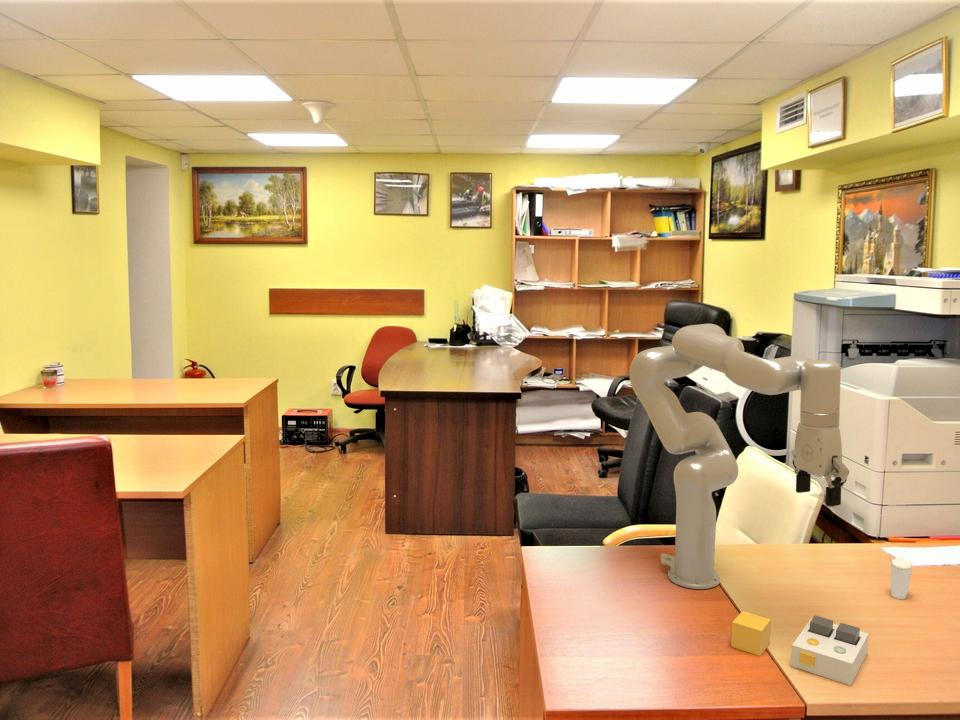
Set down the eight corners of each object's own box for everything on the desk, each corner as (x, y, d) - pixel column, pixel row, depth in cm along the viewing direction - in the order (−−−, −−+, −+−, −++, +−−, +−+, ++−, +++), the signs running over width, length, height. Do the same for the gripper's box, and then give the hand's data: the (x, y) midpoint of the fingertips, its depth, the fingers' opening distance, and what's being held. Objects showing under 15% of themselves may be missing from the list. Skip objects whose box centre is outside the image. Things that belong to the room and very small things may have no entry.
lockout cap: (731, 646, 159) (732, 622, 158) (741, 634, 163) (742, 610, 163) (760, 656, 155) (761, 630, 154) (769, 643, 160) (771, 619, 159)
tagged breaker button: (808, 640, 156) (809, 622, 156) (813, 633, 159) (814, 615, 158) (827, 645, 154) (828, 627, 153) (832, 638, 157) (833, 620, 156)
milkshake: (880, 592, 182) (883, 553, 181) (901, 591, 183) (905, 552, 181) (892, 601, 178) (895, 560, 176) (914, 600, 178) (917, 560, 177)
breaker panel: (790, 666, 151) (791, 644, 150) (810, 637, 162) (811, 616, 162) (850, 686, 144) (852, 662, 144) (867, 654, 156) (868, 632, 155)
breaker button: (834, 648, 153) (836, 629, 153) (839, 640, 156) (840, 622, 155) (854, 654, 151) (855, 635, 150) (858, 646, 154) (859, 628, 153)
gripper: (778, 413, 167) (777, 488, 169) (831, 429, 150) (829, 512, 152) (808, 410, 169) (807, 485, 171) (864, 426, 152) (861, 509, 154)
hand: (817, 498), depth 162 cm, fingers open, 9 cm apart
